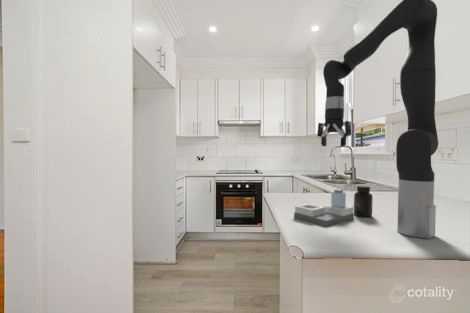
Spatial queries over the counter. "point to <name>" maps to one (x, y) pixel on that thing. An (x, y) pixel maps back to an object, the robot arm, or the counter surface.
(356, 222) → the counter surface
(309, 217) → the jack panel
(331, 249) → the counter surface
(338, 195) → the plug
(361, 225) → the counter surface
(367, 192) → the supplement bottle
